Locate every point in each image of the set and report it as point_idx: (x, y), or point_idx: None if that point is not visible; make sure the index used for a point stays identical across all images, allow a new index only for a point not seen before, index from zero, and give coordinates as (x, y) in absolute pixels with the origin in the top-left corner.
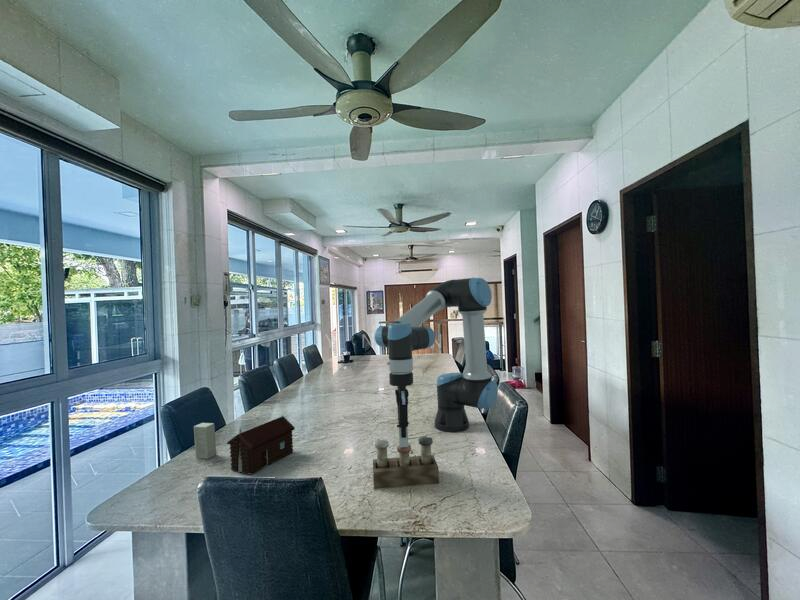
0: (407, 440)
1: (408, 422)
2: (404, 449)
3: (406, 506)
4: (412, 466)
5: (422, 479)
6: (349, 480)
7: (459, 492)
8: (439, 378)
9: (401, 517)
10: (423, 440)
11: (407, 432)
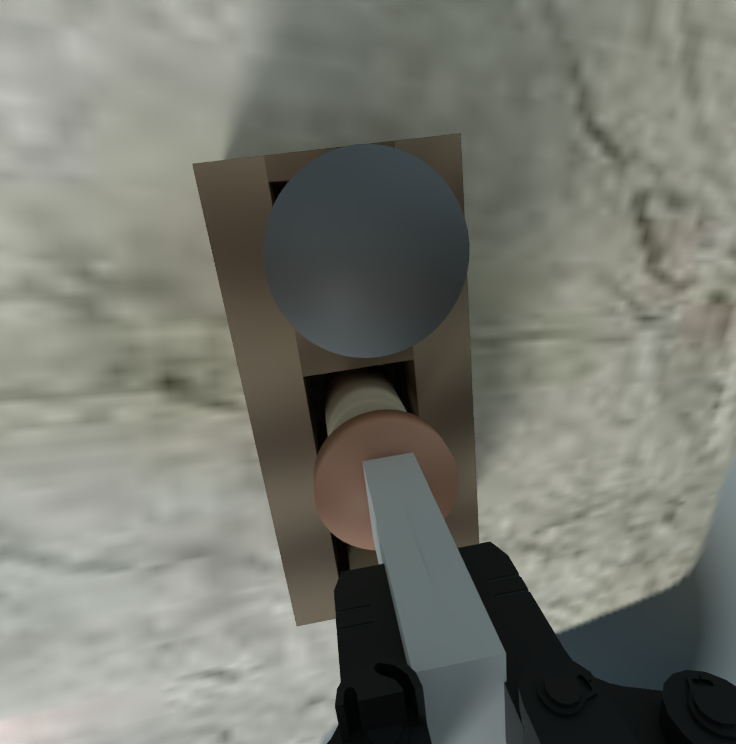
0: (431, 497)
1: (400, 690)
2: (449, 479)
3: (631, 353)
4: (426, 357)
5: None
6: None
7: (552, 8)
8: None
9: (708, 370)
10: (401, 290)
11: (465, 567)
